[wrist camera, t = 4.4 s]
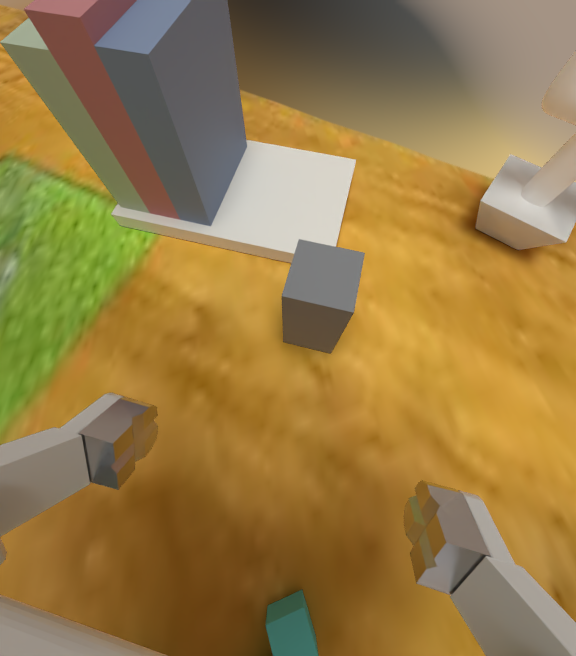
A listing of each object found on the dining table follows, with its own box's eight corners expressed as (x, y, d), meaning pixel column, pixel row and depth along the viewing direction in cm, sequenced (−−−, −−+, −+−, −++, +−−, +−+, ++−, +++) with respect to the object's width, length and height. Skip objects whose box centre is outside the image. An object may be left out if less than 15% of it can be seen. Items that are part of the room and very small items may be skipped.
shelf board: (120, 225, 26) (-54, 9, 13) (172, 139, 31) (85, -87, 18) (329, 271, 25) (382, 76, 11) (352, 172, 29) (409, -51, 16)
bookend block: (283, 342, 22) (281, 295, 15) (294, 300, 24) (298, 239, 16) (330, 353, 22) (353, 312, 14) (339, 310, 23) (364, 252, 16)
